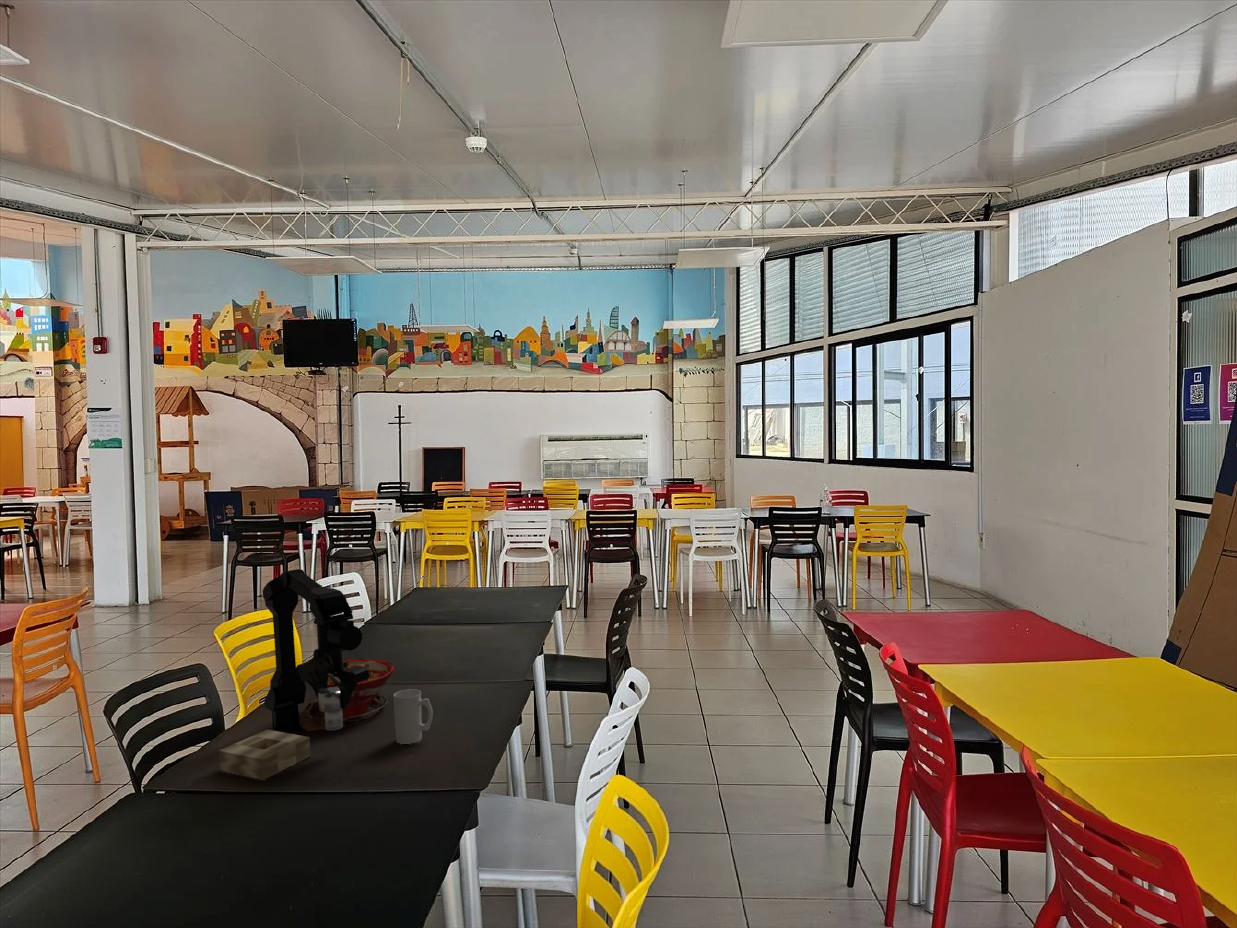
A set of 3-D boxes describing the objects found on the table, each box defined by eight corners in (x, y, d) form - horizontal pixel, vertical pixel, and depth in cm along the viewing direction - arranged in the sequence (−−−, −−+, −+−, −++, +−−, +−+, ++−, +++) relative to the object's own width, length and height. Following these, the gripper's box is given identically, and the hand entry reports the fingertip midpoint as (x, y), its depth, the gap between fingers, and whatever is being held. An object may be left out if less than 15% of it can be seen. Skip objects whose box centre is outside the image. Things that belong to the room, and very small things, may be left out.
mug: (390, 744, 205) (388, 697, 204) (402, 734, 211) (400, 688, 211) (427, 746, 203) (426, 698, 202) (439, 736, 209) (437, 690, 209)
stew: (364, 735, 212) (361, 674, 211) (279, 731, 216) (276, 671, 215) (410, 699, 239) (408, 644, 238) (334, 696, 243) (332, 642, 243)
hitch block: (219, 771, 191) (218, 750, 191) (268, 749, 204) (267, 729, 204) (263, 781, 185) (262, 759, 185) (310, 757, 198) (309, 737, 198)
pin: (313, 730, 198) (312, 693, 197) (334, 721, 204) (332, 685, 203) (334, 734, 195) (332, 696, 195) (354, 724, 201) (352, 688, 201)
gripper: (275, 648, 195) (278, 713, 196) (335, 656, 187) (338, 723, 188) (311, 637, 205) (314, 698, 206) (369, 643, 197) (372, 707, 198)
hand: (333, 706), depth 199 cm, fingers closed on pin, 7 cm apart
